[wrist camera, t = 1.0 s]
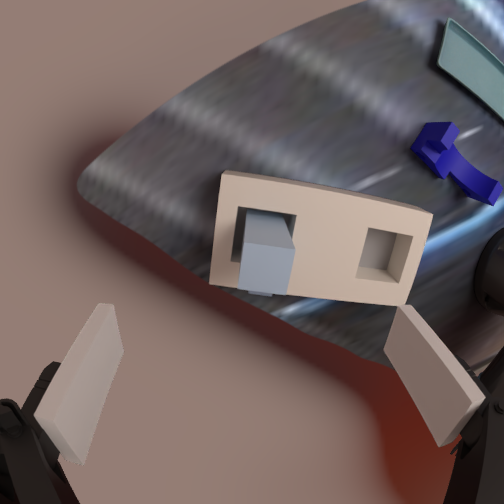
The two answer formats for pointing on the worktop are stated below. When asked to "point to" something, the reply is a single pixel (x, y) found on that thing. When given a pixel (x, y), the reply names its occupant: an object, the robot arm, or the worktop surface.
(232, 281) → the socket strip
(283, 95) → the worktop surface
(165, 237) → the worktop surface
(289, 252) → the plug
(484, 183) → the blue angular bent piece
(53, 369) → the robot arm
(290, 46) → the worktop surface
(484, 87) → the rectangular tray
